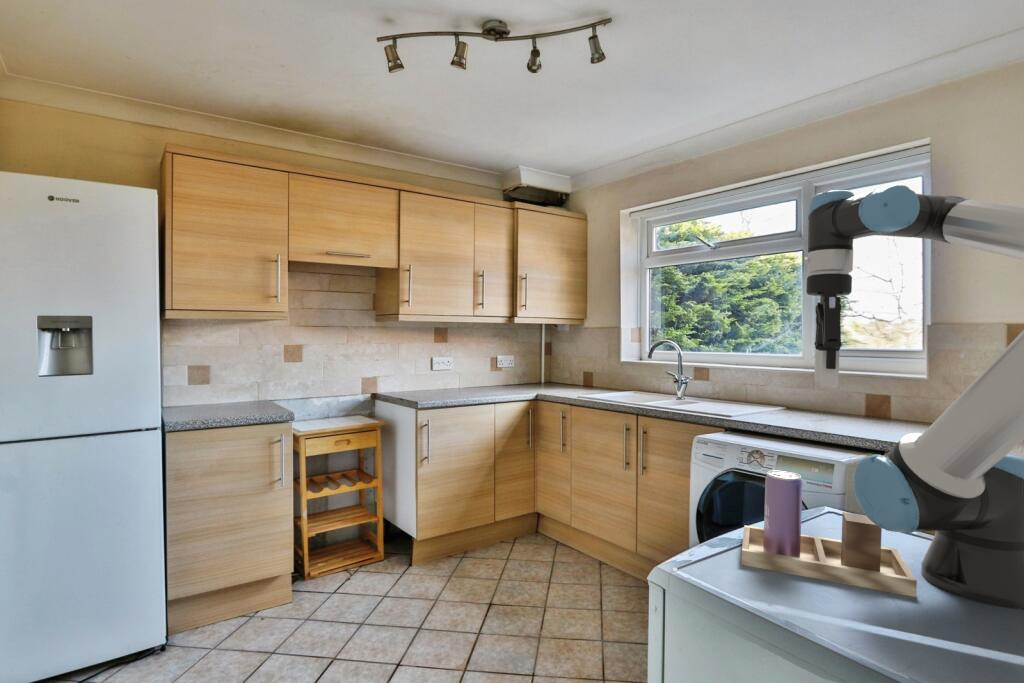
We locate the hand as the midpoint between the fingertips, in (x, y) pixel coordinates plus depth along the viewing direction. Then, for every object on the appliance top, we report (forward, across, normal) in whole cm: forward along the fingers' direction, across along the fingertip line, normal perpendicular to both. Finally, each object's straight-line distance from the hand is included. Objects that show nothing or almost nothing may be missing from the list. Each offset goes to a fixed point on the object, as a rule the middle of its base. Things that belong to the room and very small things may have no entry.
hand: (825, 384), depth 105 cm
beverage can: (+31, +11, -7) cm, 34 cm away
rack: (+32, +11, -1) cm, 34 cm away
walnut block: (+31, +11, +5) cm, 33 cm away
